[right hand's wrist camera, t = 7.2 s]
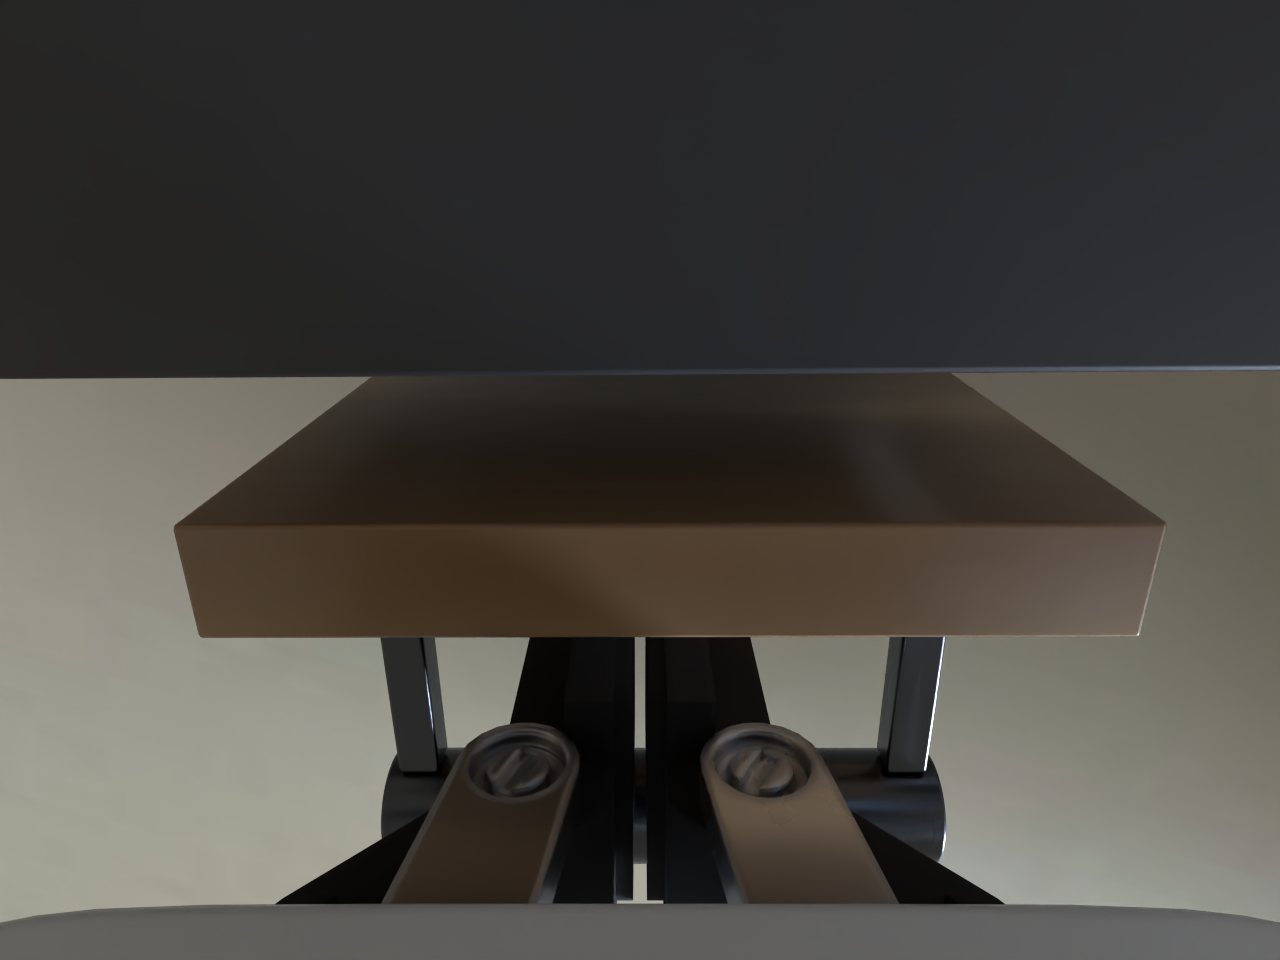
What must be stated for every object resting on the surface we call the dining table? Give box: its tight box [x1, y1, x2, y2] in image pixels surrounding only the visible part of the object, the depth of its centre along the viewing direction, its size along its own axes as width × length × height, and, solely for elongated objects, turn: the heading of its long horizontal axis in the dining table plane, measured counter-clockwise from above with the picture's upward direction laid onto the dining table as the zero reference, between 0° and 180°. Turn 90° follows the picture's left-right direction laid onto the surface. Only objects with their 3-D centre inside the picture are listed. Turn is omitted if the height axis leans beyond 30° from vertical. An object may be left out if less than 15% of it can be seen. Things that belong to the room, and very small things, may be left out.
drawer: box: [174, 373, 1166, 864], centre depth 9 cm, size 20×9×7 cm, turn 1°
